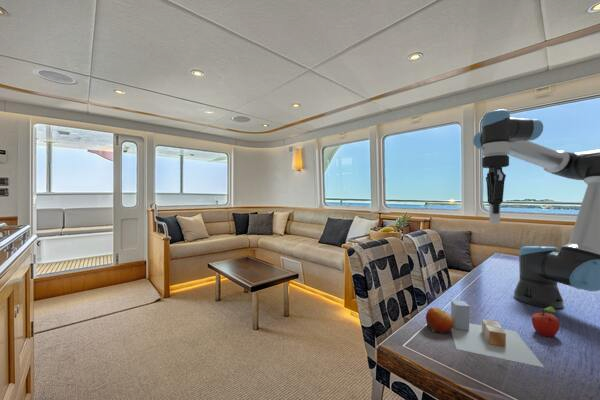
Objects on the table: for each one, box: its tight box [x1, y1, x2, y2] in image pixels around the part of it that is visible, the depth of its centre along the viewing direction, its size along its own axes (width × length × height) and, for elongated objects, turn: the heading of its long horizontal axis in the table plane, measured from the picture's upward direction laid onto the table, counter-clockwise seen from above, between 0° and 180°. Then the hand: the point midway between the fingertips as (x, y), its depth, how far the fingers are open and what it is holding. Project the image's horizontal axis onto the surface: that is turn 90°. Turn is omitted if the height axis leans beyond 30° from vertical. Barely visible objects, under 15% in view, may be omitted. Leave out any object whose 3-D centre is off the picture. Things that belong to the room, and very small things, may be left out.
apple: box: [531, 307, 561, 338], centre depth 79 cm, size 8×7×10 cm
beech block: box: [481, 318, 506, 348], centre depth 76 cm, size 4×4×8 cm
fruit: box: [425, 307, 454, 334], centre depth 82 cm, size 8×8×8 cm
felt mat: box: [450, 322, 545, 368], centre depth 76 cm, size 19×19×1 cm
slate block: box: [450, 299, 470, 331], centre depth 83 cm, size 4×4×8 cm
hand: (494, 222), depth 89 cm, fingers closed
